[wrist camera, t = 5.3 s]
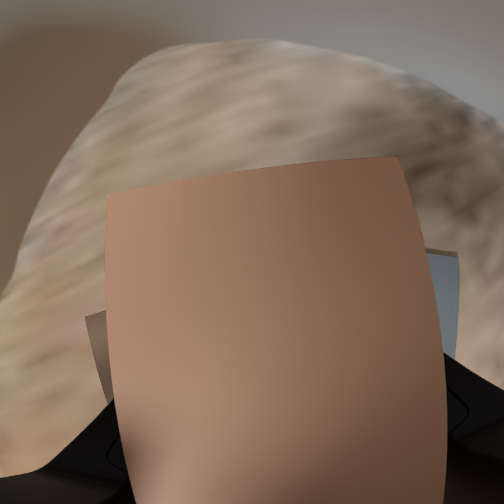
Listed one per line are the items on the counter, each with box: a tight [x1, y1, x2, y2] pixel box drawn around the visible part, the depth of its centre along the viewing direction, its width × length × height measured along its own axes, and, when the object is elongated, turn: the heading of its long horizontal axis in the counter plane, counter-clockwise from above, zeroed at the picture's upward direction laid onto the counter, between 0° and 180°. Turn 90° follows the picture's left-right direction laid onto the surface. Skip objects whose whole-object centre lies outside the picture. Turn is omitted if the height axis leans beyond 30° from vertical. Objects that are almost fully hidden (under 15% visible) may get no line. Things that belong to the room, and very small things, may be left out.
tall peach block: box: [105, 156, 447, 504], centre depth 8 cm, size 5×4×10 cm
